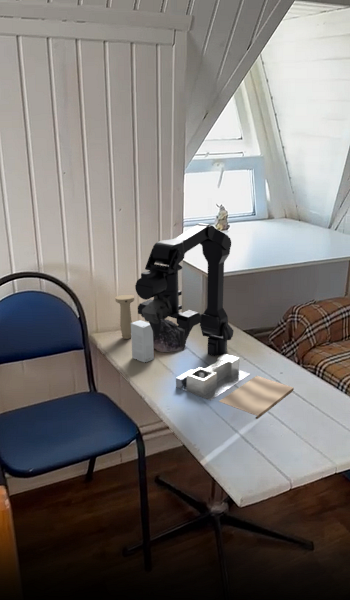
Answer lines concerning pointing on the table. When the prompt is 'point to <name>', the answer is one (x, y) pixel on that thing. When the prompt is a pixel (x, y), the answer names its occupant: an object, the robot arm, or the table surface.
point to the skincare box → (142, 341)
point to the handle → (125, 314)
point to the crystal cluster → (167, 337)
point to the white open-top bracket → (212, 374)
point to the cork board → (257, 396)
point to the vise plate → (221, 385)
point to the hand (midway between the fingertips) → (169, 341)
